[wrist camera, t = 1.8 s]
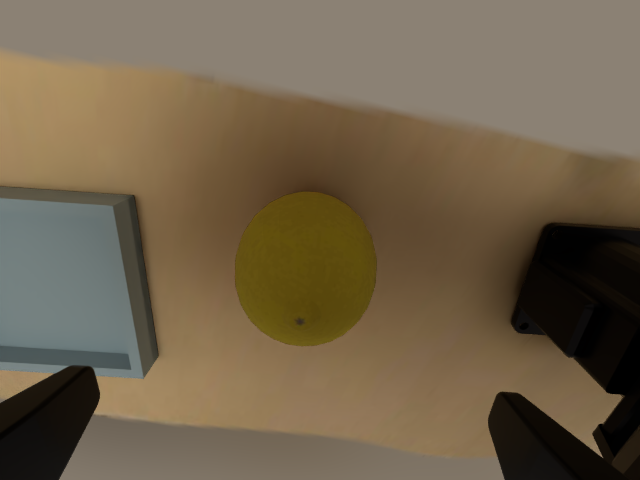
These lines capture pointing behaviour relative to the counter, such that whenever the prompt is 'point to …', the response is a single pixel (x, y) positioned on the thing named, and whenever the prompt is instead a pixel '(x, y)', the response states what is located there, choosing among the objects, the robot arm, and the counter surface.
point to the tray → (73, 284)
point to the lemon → (305, 269)
